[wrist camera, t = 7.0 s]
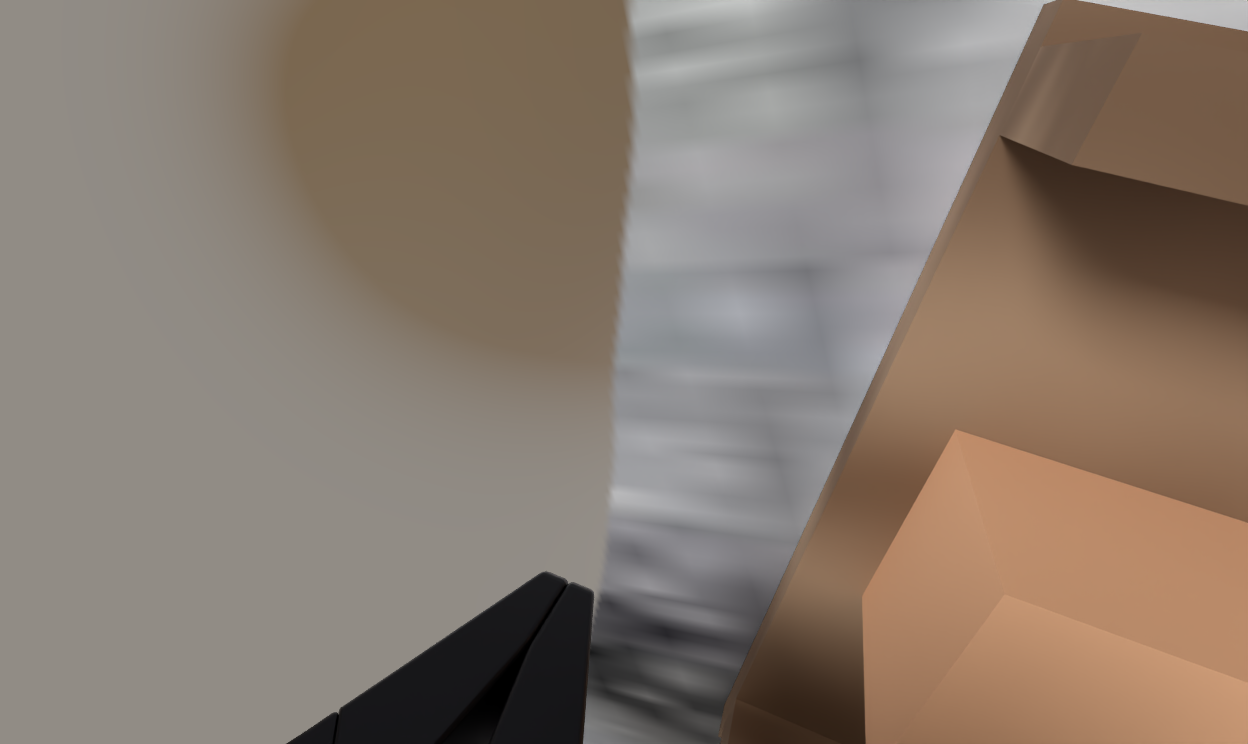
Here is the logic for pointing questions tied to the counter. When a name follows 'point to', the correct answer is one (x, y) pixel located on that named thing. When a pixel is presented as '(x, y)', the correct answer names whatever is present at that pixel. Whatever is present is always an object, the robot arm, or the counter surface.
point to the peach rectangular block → (1055, 611)
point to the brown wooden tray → (1044, 329)
